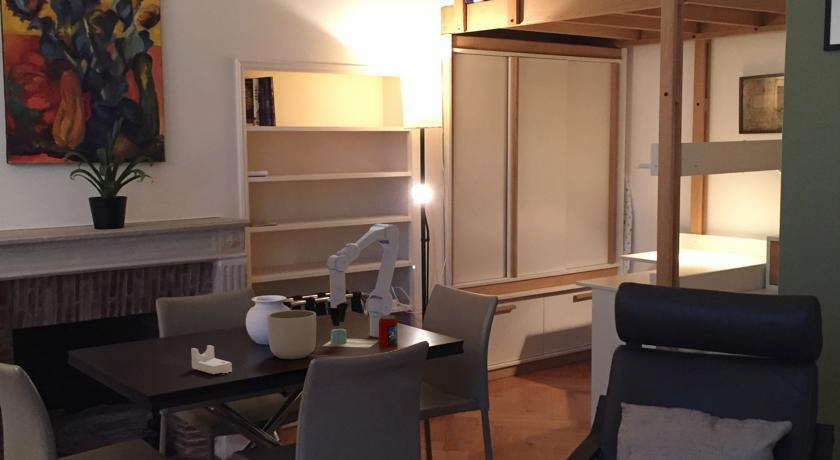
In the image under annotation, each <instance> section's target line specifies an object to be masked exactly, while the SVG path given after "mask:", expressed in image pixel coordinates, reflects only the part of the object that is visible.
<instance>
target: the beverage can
mask: <svg viewBox="0 0 840 460" xmlns="http://www.w3.org/2000/svg"><path fill="white" fill-rule="evenodd" d="M378 340H379V341H378V346H379V348H383V349H393V348H397V347H398V345H399V344H398V342H399V340H398V319H397V318H396V316H395V315H390V314H389V315H387V316H381V318H380V320H379V337H378Z"/></svg>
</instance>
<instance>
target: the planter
mask: <svg viewBox="0 0 840 460" xmlns="http://www.w3.org/2000/svg"><path fill="white" fill-rule="evenodd" d="M266 315H267V317H266V318H267V320H266V321H267V333H268V334H267V335H268V343H269V344H268V345H269V349H270V351H271V353H272V354H273V355H274V356H275V357H277V358H278V359H283V360H299V359H304V358H306V357H308V356H310V354H312V353H313V351H314V350H315V348H316V341H317V340H316V339H317V313H316V312H315V311H312V310H304V309H292V310H279V311H274V312H270V313H268V314H266Z"/></svg>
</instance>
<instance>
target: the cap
mask: <svg viewBox="0 0 840 460" xmlns="http://www.w3.org/2000/svg"><path fill="white" fill-rule="evenodd" d="M347 335H348V332H347V329H345V328H337V329H336V328H334V329H333V328H332V329H331V330H330V341H331V343H333V344H342V343H346V342H347V339H348V337H347Z"/></svg>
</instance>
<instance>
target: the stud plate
mask: <svg viewBox="0 0 840 460" xmlns="http://www.w3.org/2000/svg"><path fill="white" fill-rule="evenodd" d="M377 343H379V339H364V338H347V342H346V343H342V344H333V343H331V340H329V341H328V342H326V343H325V344H323V345H322V347H341V348H365V349H366V348H371V347H373V346H374V345H375V344H377Z"/></svg>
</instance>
